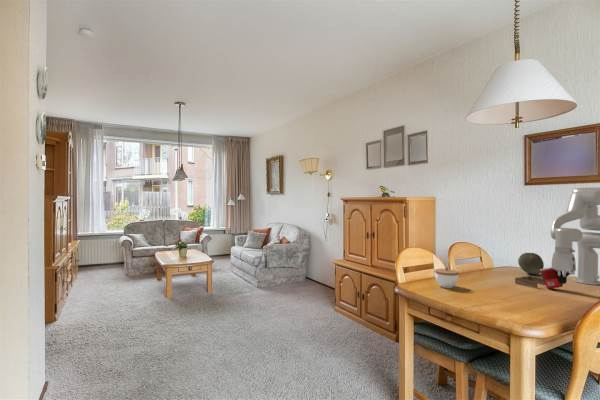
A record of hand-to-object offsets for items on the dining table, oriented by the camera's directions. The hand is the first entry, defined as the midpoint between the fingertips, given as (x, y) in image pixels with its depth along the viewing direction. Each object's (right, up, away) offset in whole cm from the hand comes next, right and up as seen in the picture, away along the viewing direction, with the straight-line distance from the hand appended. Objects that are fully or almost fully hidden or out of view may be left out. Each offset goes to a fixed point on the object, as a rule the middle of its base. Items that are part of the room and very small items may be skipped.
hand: (562, 283), depth 185 cm
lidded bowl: (-62, -4, +8) cm, 62 cm away
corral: (-6, -5, +15) cm, 16 cm away
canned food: (-1, -4, +4) cm, 5 cm away
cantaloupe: (+12, -5, +43) cm, 45 cm away
